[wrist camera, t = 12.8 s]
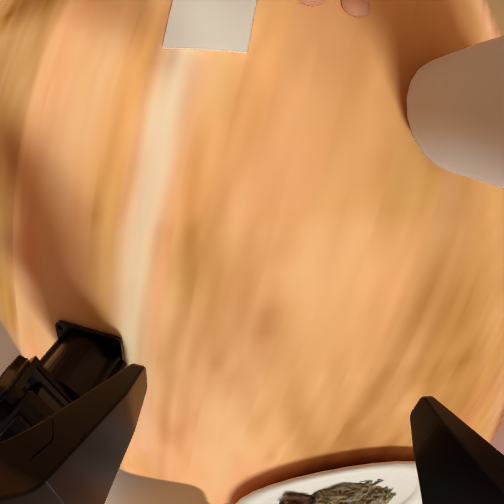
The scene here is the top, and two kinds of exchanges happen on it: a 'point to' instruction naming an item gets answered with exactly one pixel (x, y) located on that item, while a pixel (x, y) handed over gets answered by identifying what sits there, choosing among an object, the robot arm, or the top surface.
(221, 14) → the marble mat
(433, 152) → the can
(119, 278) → the top surface
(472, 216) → the top surface
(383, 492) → the plated food
